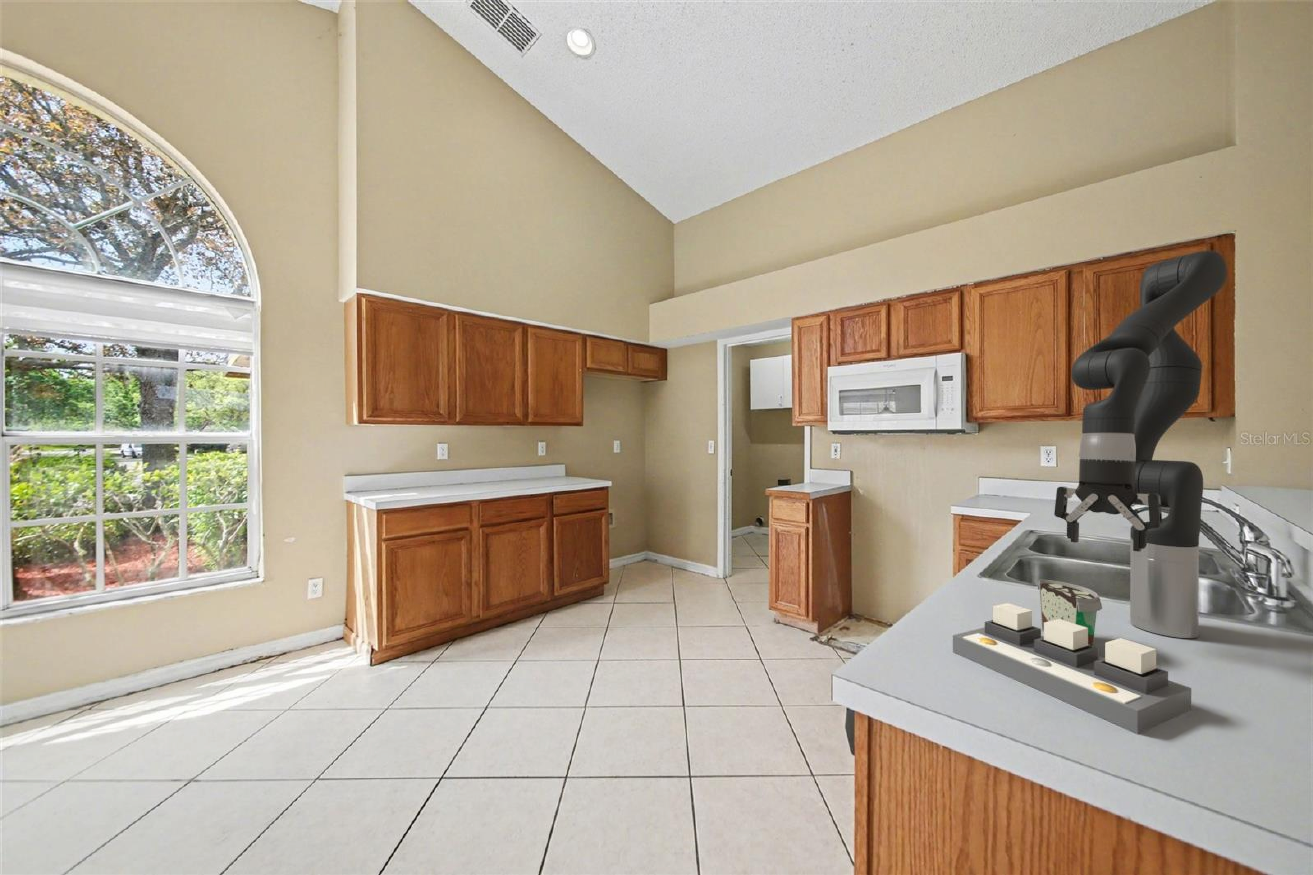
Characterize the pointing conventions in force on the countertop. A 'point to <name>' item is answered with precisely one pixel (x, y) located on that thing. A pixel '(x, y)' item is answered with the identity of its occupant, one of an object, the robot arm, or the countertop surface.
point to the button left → (1012, 616)
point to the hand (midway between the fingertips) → (1104, 546)
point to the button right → (1130, 655)
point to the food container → (1069, 604)
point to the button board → (1076, 676)
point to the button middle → (1066, 634)
